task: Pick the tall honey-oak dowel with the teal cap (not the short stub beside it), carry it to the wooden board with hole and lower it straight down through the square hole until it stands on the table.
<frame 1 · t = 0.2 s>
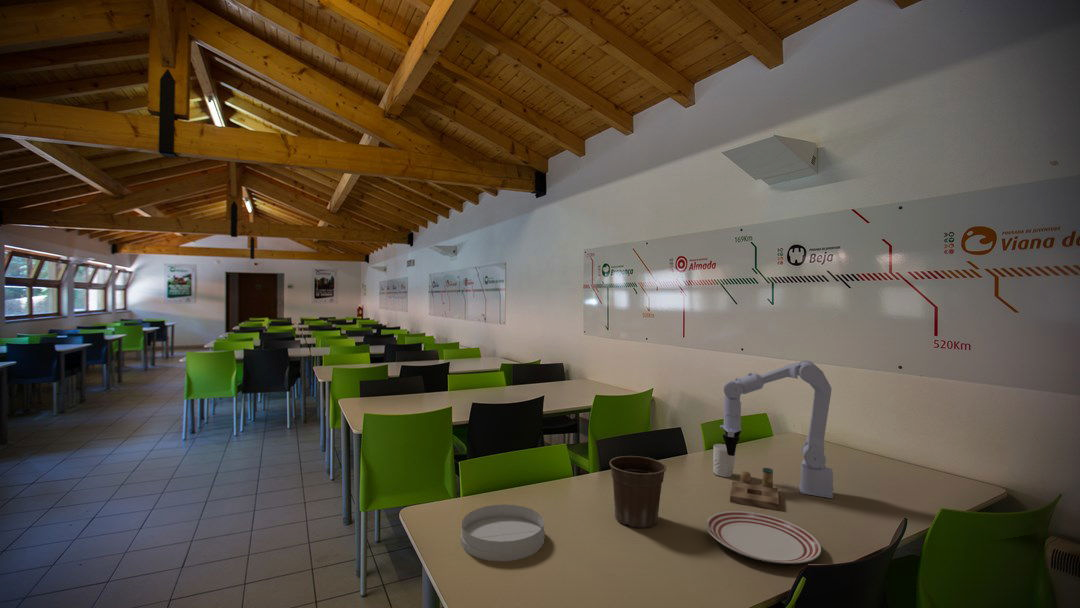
hand: (731, 452, 175), 10 cm above the table, fingers open, 7 cm apart
wooden board with hole: (754, 498, 159), on the table
short dowel: (745, 484, 171), on the table
dinner plate: (760, 545, 128), on the table
white cup: (722, 474, 181), on the table, touching gripper
long dowel: (767, 489, 166), on the table
dish: (502, 541, 128), on the table
plant pot: (636, 519, 142), on the table
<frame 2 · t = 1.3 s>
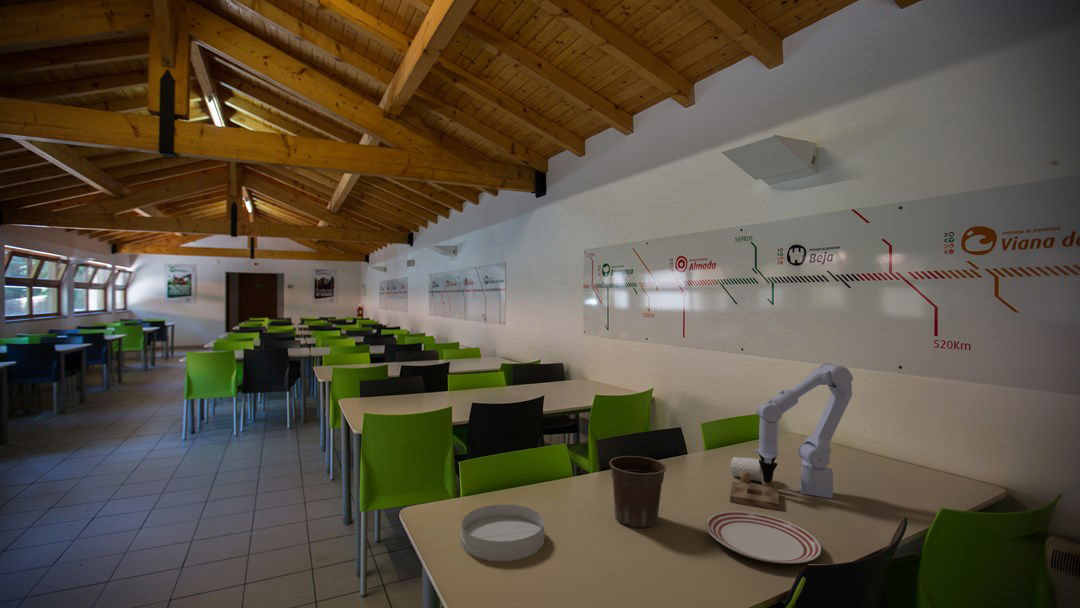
hand: (767, 478, 166), 4 cm above the table, fingers open, 7 cm apart
white cup: (732, 466, 180), point 3 cm above the table
everything else where it was.
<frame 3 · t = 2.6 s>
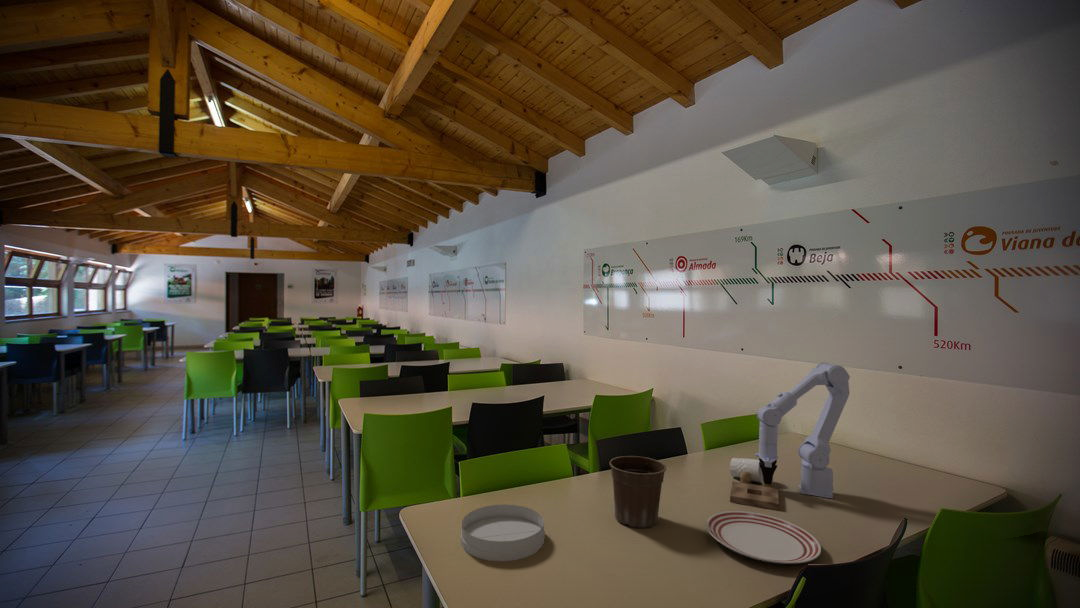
hand: (767, 482, 166), 3 cm above the table, fingers closed on long dowel, 3 cm apart
long dowel: (767, 489, 166), on the table, touching gripper
when the fingers open (3 cm above the table, at t = 5.6 s): long dowel stays where it is, resting in wooden board with hole.
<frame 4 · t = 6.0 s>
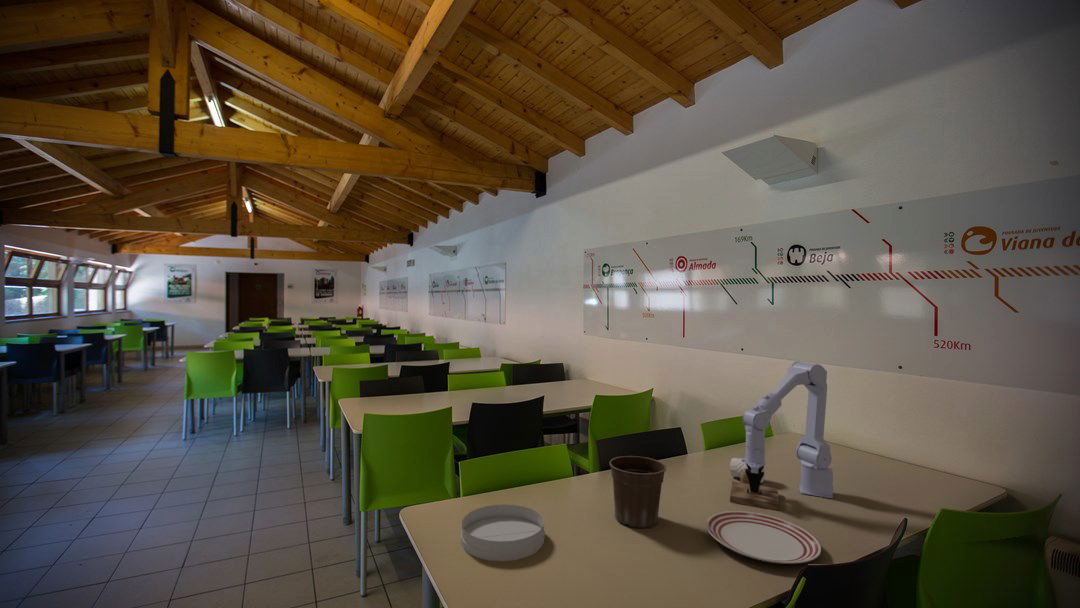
hand: (754, 488, 159), 3 cm above the table, fingers open, 6 cm apart
long dowel: (754, 498, 159), resting in wooden board with hole
everything else where it was.
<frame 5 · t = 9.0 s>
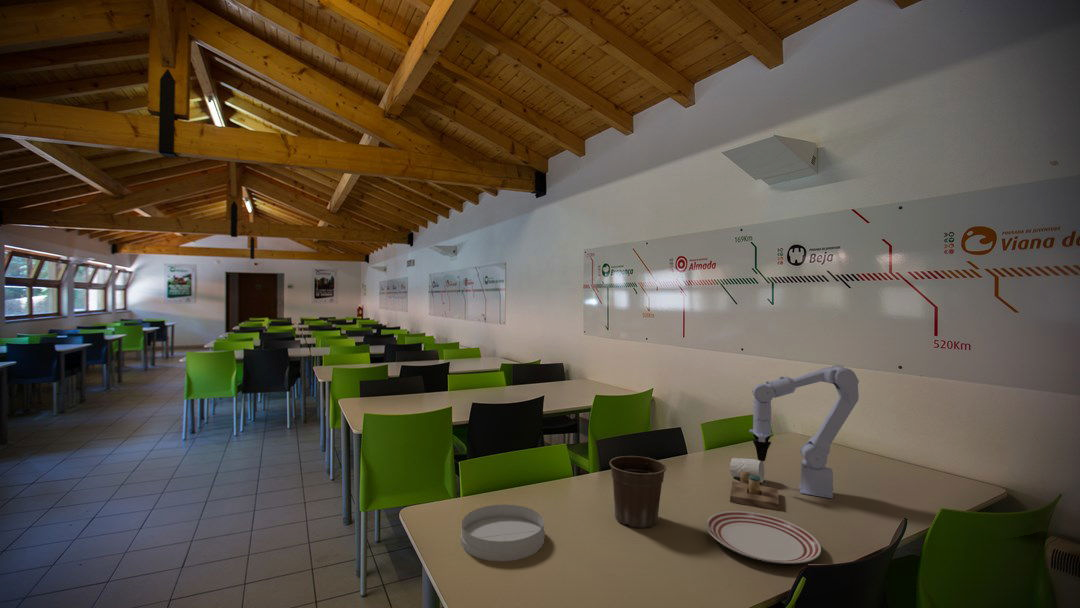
hand: (761, 457, 170), 10 cm above the table, fingers open, 7 cm apart
nothing on the table moved.
at the end: long dowel 0.1 cm off-centre on the wooden board with hole, point 0.0 cm above the wooden board with hole's base; long dowel tilted 0°; short dowel moved 0.1 cm from its start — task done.
